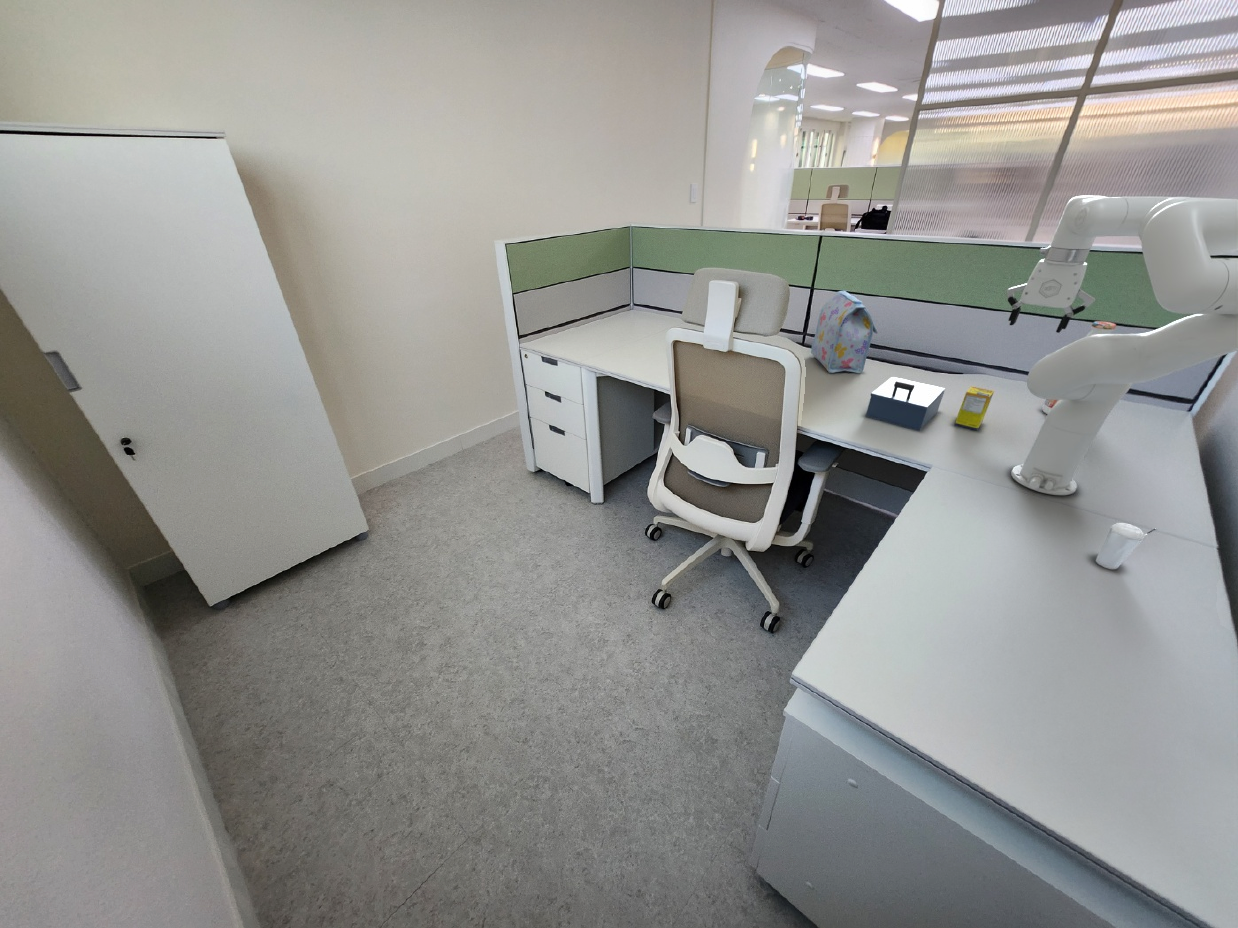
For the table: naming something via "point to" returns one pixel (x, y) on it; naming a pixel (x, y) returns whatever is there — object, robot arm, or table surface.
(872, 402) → the box
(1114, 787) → the table surface
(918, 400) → the lunchbox lid
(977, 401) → the supplement box
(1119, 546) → the milkshake
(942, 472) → the table surface
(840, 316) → the lunch bag
